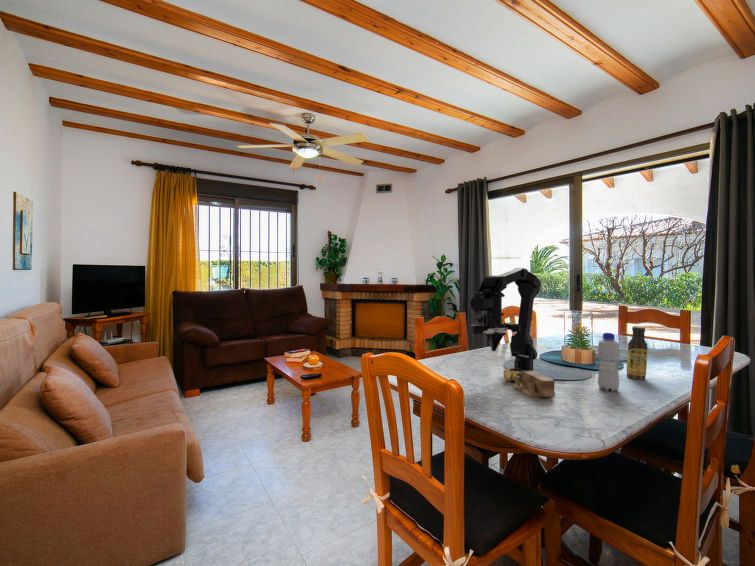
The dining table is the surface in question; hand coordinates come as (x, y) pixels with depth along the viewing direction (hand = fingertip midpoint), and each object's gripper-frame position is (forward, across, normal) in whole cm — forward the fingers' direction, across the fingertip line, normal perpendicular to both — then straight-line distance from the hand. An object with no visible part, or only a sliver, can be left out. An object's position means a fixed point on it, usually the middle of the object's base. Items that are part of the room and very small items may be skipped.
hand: (493, 350), depth 138 cm
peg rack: (+12, -8, +12) cm, 19 cm away
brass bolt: (+12, -9, 0) cm, 15 cm away
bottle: (+12, -35, +16) cm, 40 cm away
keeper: (+12, -10, 0) cm, 16 cm away
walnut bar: (+11, -8, +14) cm, 20 cm away
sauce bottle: (+12, -56, +7) cm, 58 cm away
